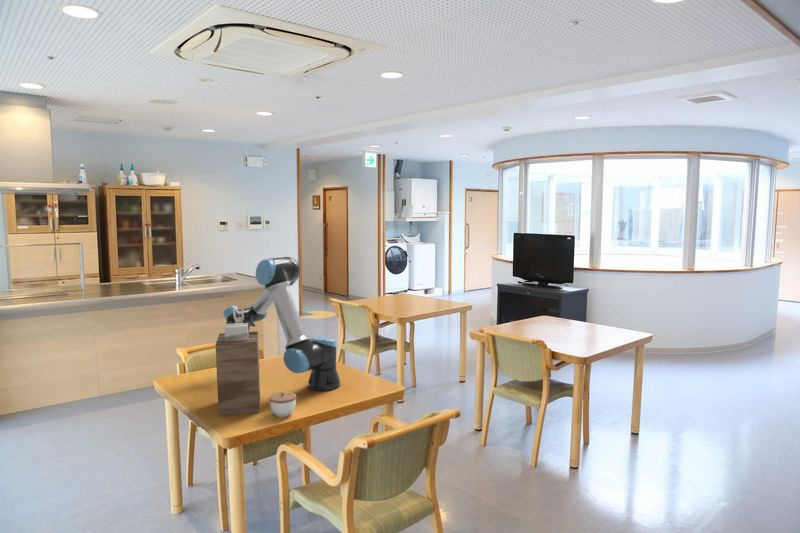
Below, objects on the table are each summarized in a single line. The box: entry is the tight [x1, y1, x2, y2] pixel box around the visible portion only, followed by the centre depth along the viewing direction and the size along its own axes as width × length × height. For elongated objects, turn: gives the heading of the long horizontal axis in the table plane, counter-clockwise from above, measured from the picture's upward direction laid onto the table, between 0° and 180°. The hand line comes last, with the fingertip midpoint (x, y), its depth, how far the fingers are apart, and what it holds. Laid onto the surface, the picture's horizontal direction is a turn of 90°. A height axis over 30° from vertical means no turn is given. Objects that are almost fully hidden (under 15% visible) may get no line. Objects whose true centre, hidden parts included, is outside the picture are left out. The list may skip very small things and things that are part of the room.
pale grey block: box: [223, 318, 249, 342], centre depth 235 cm, size 28×9×6 cm, turn 13°
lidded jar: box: [268, 391, 297, 418], centre depth 222 cm, size 11×11×9 cm
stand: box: [215, 330, 261, 417], centre depth 230 cm, size 19×16×30 cm
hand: (238, 312), depth 239 cm, fingers closed on pale grey block, 3 cm apart
